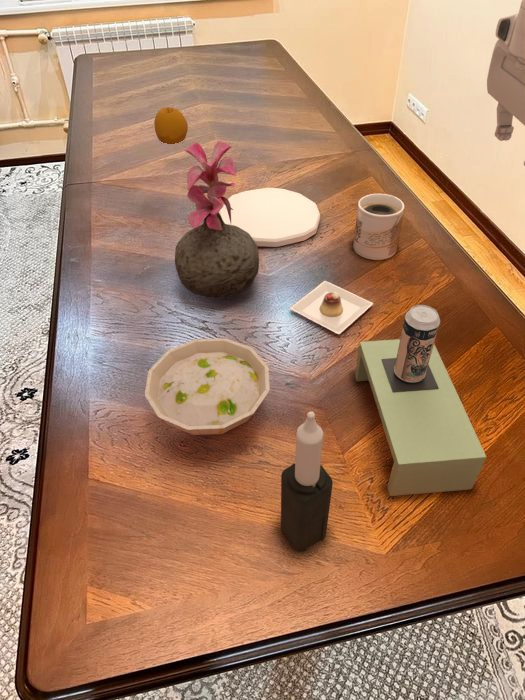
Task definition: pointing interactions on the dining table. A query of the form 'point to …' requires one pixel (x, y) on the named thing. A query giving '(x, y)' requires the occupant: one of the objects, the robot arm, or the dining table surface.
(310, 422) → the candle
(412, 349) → the beer can
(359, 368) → the shelf
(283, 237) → the decorative plate
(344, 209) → the dining table surface
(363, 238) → the mug
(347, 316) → the dessert
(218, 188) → the vase
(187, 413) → the bowl
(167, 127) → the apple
